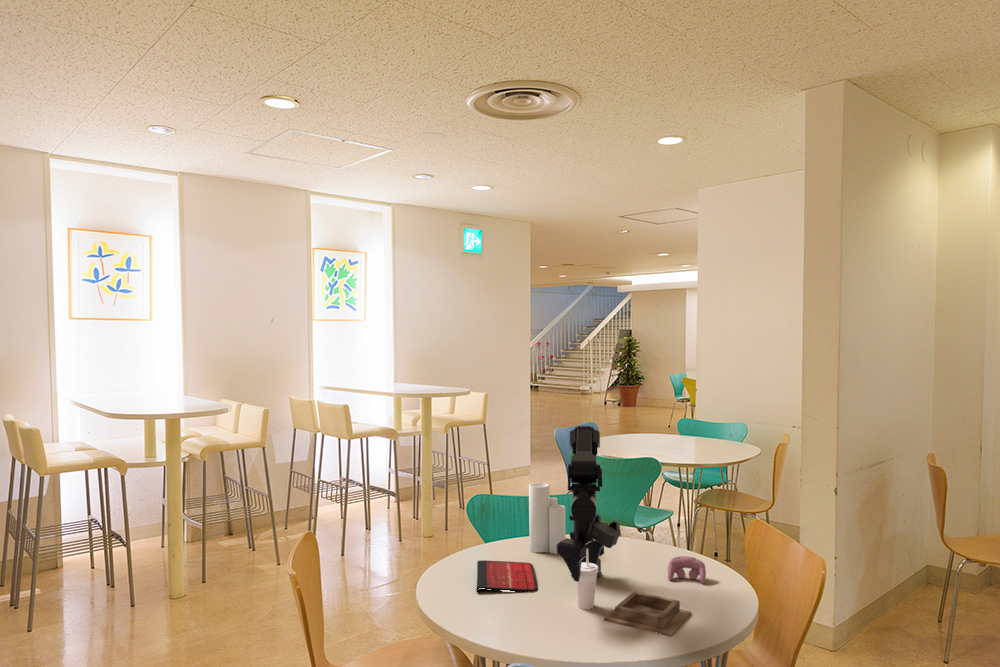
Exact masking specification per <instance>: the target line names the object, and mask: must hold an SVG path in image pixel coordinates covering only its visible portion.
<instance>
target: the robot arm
mask: <svg viewBox="0 0 1000 667" xmlns="http://www.w3.org/2000/svg"><path fill="white" fill-rule="evenodd" d="M600 438H601V434H600V431H599V430H597V429H594V426H592V425H577V426H575V427H574V429H572V430H569V448H572V450H571V451H572V454H573V455H572V456H571V457H570V463H568V464H567V491H570V492H572V500H571V505H570V507H571V508H570V510H571V515H569V521H572V531H571V532H569V538H566V539H564V540H562V541H561V542H559V543H558V544H557V545H556V548H557V554H556V555H559V556H560V557H562V560H563V561H564V563H565V564H566V566H567V568H568V571H569V573H570V575H571V577H572V578H573V580H574V582H575V581H577V582H578V581H579V579H580V571H581V562H586V556H587V555H586V549H587V548H588V553H589V563H593V564H596V565H597V566H598V573H597V578H598V577H600V576H601V575H603V572H602V565H601V564H602V563H601V562H602V561H601V559H600V557H602V556H603V555H604V554H605V547H606V548H608V549H611V548H612V547H613V546H615V545H617V543H618V540H619V538H620V537H621V536H622V533H621V531H622V530H621V526H620V523H619V522H618V521H616V520H613V521H611V522H610V523H609V524H608V522H603V521H601V520H602V518H601V516H600V514H597V492H601V488H602V487H603V469H602V467H601V465H600V464H599V463H598V462H597V456H598V449H599V448H601V439H600Z"/></svg>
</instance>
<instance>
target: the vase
mask: <svg viewBox="0 0 1000 667" xmlns="http://www.w3.org/2000/svg"><path fill="white" fill-rule="evenodd" d="M550 490H551V489H550V484H549V483H546V482H531V483H529V484H528V512H529V513H528V514H529V515H528V516H529V517H528V518H529V519H528V521H529V525H528V526H529V532H528V534H529V551H530V552H531V551H532V552H531V553H534V552H538V553H537V554H540V553H539V552H542V553H541V554H544V553H543V552H546V553H550V552H551V553H550V554H552V553H554V554H553V555H558V554H557V548H556V545H557V544H558V543H559V542H561V541H562V540H564V539H566V536H567V535H566V506H565V505H563V504H558V498H557V497H554V496H552V497H551V496H550V493H551V491H550ZM548 551H549V552H548Z"/></svg>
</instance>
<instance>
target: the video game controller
mask: <svg viewBox="0 0 1000 667" xmlns="http://www.w3.org/2000/svg"><path fill="white" fill-rule="evenodd" d="M684 569H690V570H689V572H688V577H689V579H690V580H693V579H695V580H697V578H698V577H699V580H700V583H701V584H702V585H704V584H705V583H706V579H707V578H706V577H707V576H706V575H707V572H706V570H707V569H706V564H705V563H704V562H703V561H702V560H701V559H699V558H696V557H693V556H685V555H684V556H683V555H681V556H675V557H673V558H671V559H670V561H669V562H668V565H667V579H668V580H670V581H669V582H671V580H672V581H673V580H674V577H675V574H676V575H677V577H678V579H684V578H686V571H685V570H684Z"/></svg>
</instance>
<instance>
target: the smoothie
mask: <svg viewBox="0 0 1000 667" xmlns="http://www.w3.org/2000/svg"><path fill="white" fill-rule="evenodd" d="M586 555H587V556H586V562H581V571H580V579H579V581H578V582H577V581H574V585H575V592H576V600H577V606H578V608H579V609H581V608H582V609H581V610H592V609H593V608H594V607H595V606H594V605H595V596H596V586H597V579H598V577H597V573H598V566H597V565H596V564H593V563H589V553H588V548H587V549H586ZM591 608H592V609H591Z"/></svg>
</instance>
